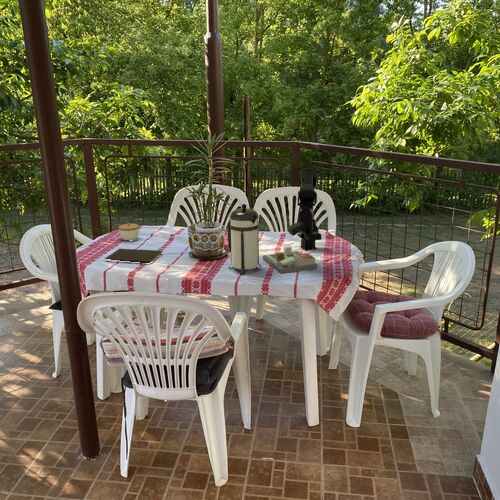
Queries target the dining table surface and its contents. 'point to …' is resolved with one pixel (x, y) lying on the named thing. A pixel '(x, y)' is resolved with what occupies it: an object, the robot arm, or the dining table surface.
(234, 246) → the coffee press
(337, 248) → the dining table surface
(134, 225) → the lidded jar
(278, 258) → the walnut knob
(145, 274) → the dining table surface
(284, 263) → the green rocker
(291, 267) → the panel
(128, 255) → the hardcover book
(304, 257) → the red button
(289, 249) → the offwhite knob
